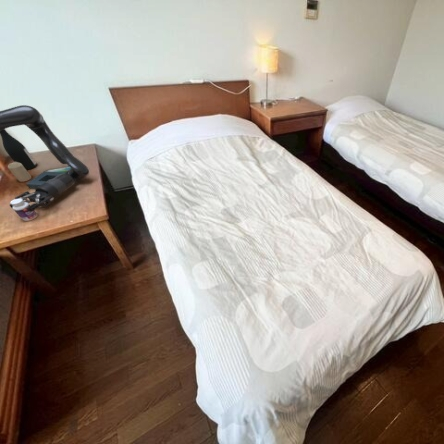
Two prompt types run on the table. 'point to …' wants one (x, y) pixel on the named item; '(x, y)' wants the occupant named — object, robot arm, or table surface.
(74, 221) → the table surface
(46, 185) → the robot arm
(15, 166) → the candle
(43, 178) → the socket pad
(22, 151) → the wine bottle
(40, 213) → the table surface
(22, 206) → the pill bottle
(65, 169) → the smartphone
